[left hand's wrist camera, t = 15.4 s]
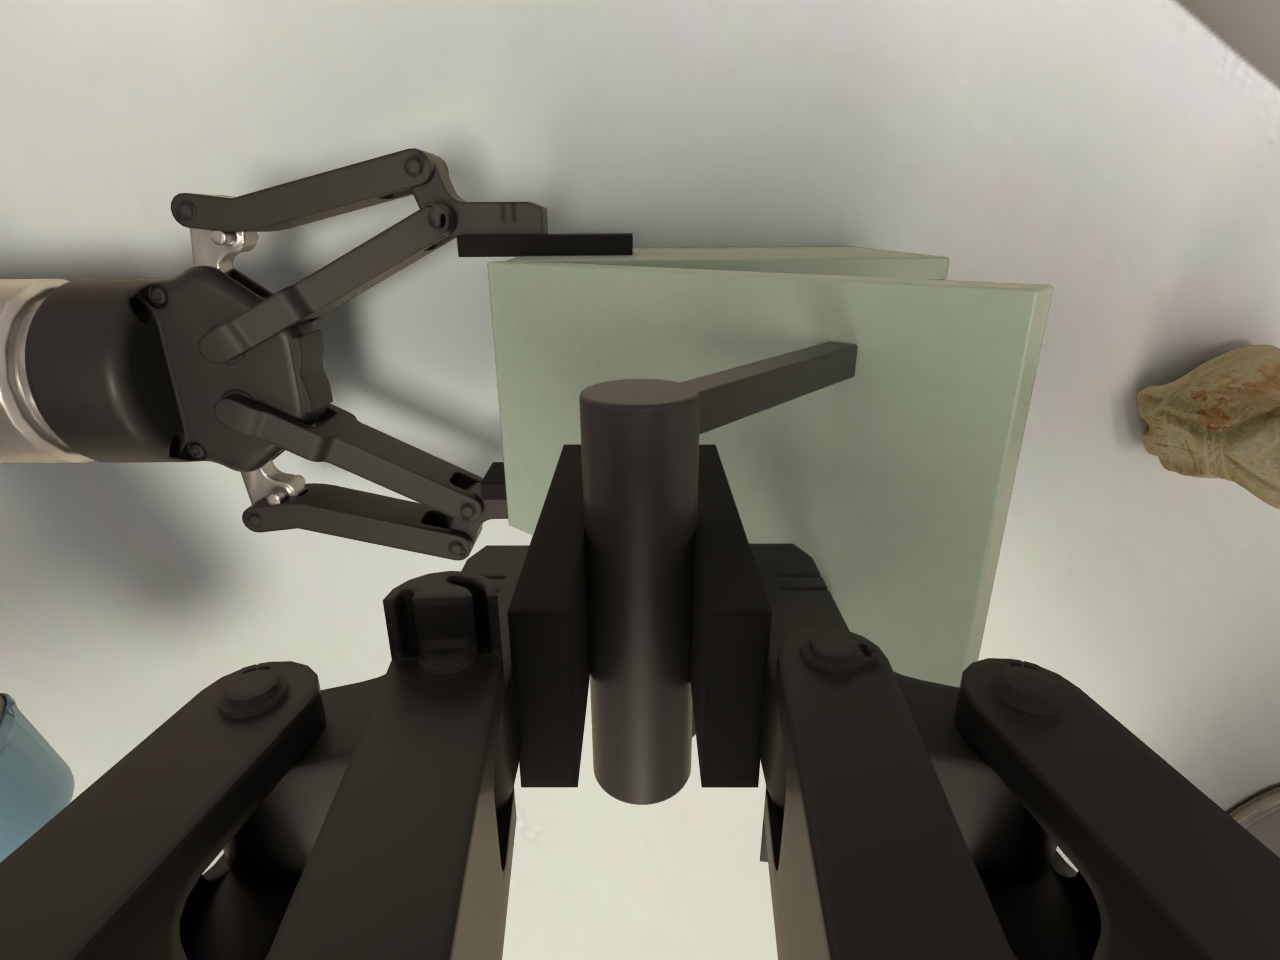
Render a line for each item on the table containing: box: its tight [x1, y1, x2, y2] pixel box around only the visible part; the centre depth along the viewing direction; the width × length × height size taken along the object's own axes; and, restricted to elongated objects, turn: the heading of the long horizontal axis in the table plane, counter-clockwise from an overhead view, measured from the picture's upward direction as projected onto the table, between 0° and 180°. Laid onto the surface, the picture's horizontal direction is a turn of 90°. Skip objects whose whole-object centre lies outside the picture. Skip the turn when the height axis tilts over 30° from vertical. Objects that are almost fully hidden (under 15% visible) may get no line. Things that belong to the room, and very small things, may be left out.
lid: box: [488, 261, 1053, 805], centre depth 16 cm, size 16×9×9 cm
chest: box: [507, 246, 949, 280], centre depth 29 cm, size 15×9×11 cm, turn 90°
